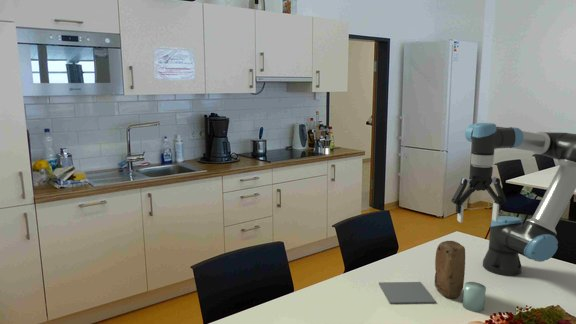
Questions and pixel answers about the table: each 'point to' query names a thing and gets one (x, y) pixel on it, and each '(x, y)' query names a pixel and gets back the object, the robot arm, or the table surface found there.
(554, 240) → the robot arm
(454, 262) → the brown sandstone rock
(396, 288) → the mat
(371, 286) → the table surface
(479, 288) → the pale blue rounded cylinder
